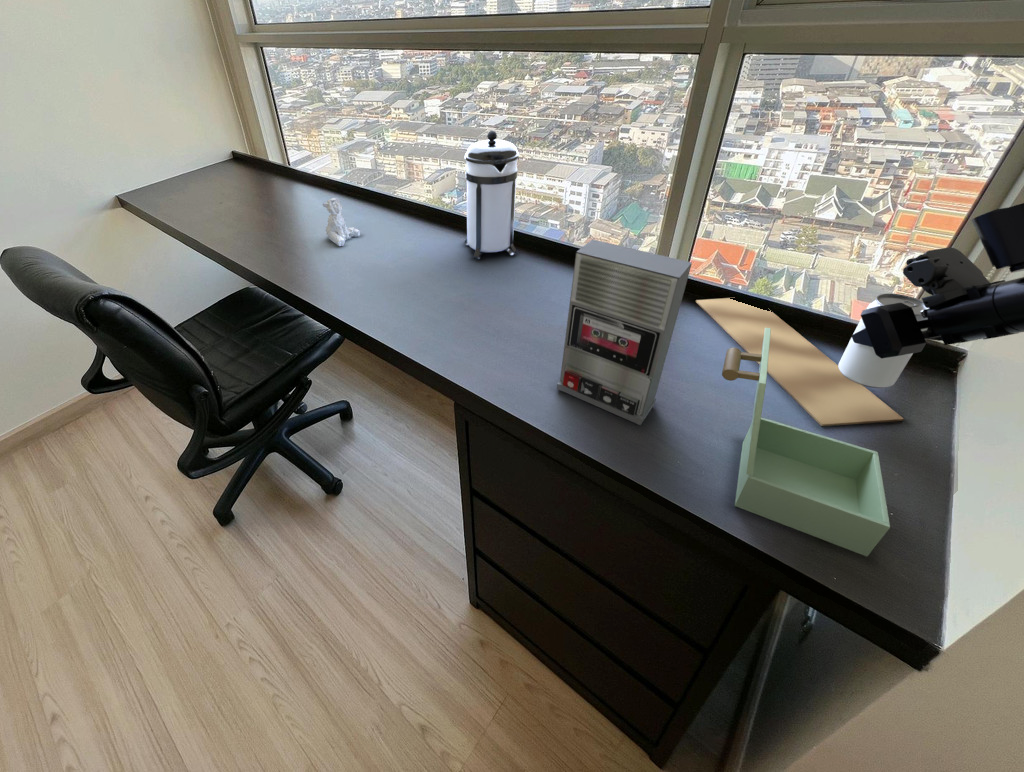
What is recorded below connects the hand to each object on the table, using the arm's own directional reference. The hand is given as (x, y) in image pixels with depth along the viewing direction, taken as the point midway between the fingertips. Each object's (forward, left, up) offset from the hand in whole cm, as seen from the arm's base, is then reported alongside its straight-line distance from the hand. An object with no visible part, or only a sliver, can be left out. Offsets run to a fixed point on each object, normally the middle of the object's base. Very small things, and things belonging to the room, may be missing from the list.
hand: (873, 335), depth 67 cm
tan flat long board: (+7, -11, -13) cm, 18 cm away
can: (-1, +1, -6) cm, 6 cm away
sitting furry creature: (+115, -15, -13) cm, 117 cm away
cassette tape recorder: (+31, +16, -13) cm, 37 cm away
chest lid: (+12, +22, 0) cm, 25 cm away
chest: (+5, +22, -13) cm, 26 cm away
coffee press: (+74, -28, -13) cm, 80 cm away
